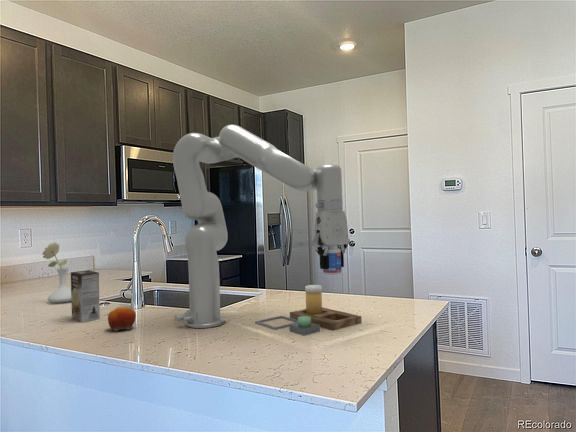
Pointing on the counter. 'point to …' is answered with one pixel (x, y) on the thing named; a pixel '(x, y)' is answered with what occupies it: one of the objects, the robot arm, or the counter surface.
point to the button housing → (304, 328)
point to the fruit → (121, 318)
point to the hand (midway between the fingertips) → (332, 267)
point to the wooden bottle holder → (329, 318)
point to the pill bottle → (333, 261)
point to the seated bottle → (313, 299)
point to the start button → (304, 321)
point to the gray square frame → (275, 319)
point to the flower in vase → (63, 291)
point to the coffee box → (85, 295)
